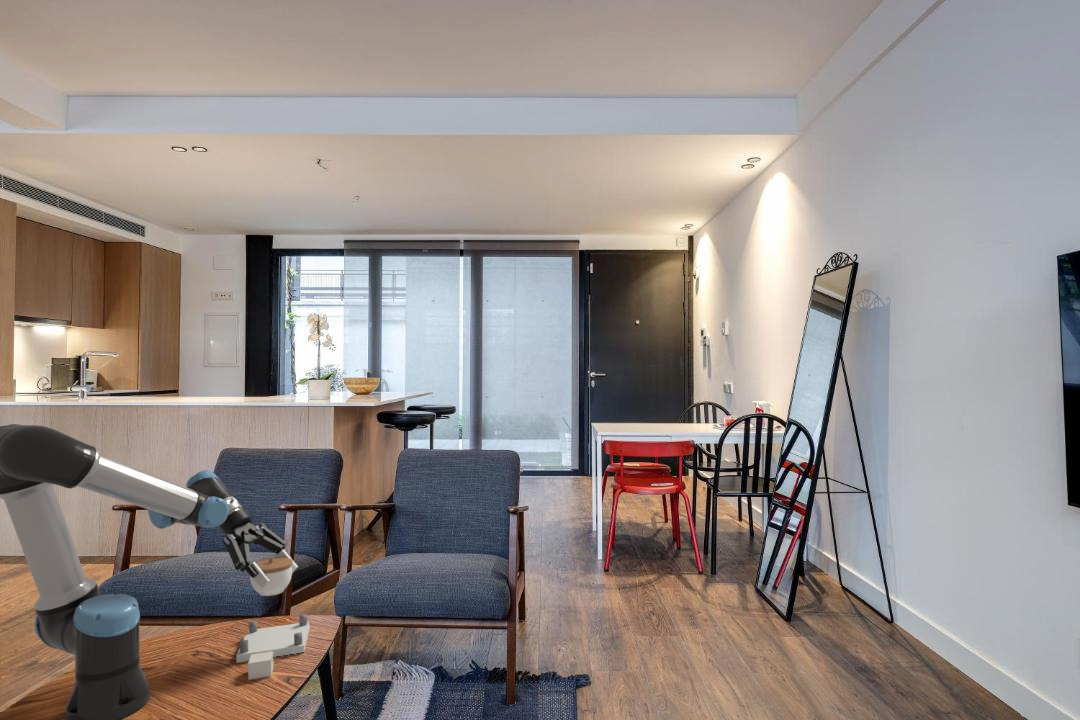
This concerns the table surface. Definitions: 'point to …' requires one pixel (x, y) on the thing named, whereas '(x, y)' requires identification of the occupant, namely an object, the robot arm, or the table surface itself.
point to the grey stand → (274, 639)
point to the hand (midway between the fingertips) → (280, 577)
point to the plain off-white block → (260, 665)
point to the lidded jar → (274, 575)
